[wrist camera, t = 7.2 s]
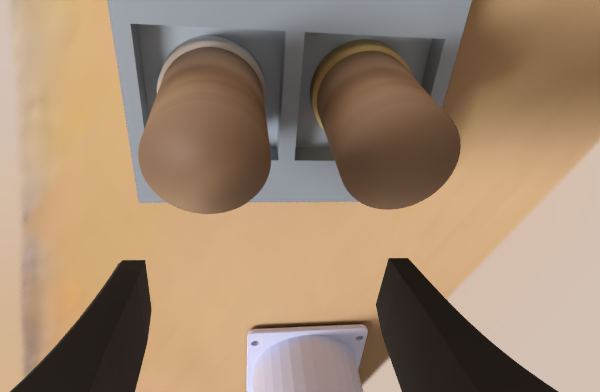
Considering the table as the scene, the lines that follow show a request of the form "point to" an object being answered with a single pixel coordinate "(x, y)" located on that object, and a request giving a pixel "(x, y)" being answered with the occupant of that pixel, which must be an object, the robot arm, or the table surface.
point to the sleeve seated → (207, 128)
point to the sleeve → (382, 126)
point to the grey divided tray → (282, 68)
